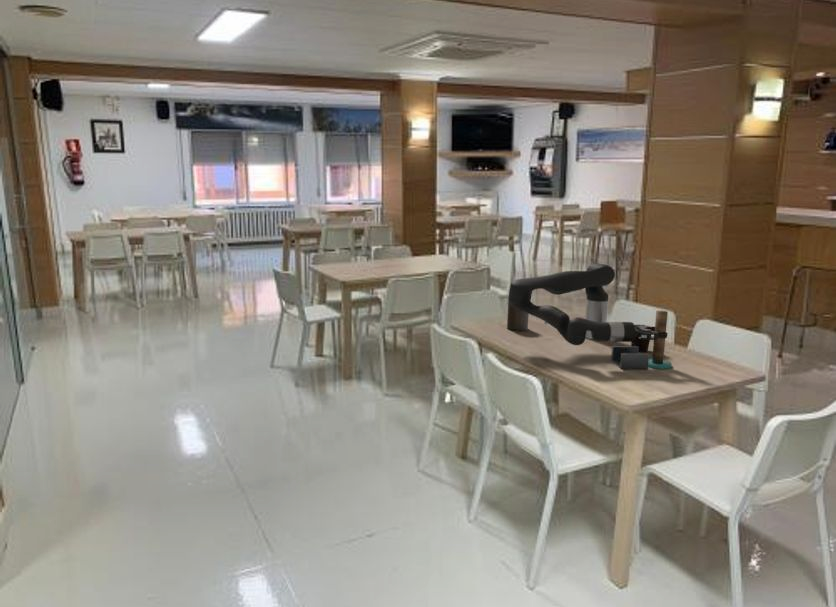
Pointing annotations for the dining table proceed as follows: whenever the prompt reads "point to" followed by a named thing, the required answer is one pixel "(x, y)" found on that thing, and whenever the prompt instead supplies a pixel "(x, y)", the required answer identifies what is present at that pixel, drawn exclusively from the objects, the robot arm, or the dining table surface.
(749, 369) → the dining table surface
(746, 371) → the dining table surface
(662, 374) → the dining table surface
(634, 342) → the coffee mug
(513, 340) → the dining table surface
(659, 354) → the walnut dowel
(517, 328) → the pillar candle
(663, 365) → the teal mat
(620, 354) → the metal channel
